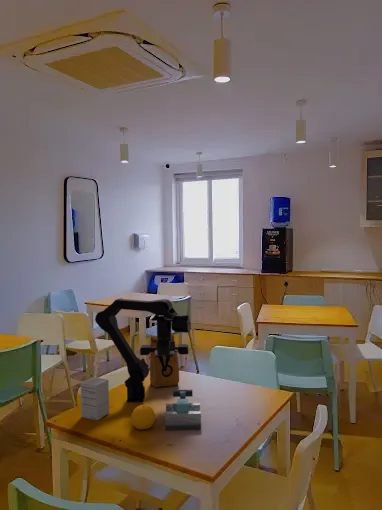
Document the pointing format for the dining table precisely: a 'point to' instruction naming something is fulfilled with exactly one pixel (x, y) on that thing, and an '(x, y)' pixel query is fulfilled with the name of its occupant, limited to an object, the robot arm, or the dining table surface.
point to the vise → (183, 420)
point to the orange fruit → (143, 417)
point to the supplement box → (94, 398)
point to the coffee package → (156, 370)
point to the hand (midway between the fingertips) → (164, 371)
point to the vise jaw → (182, 395)
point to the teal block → (182, 405)
